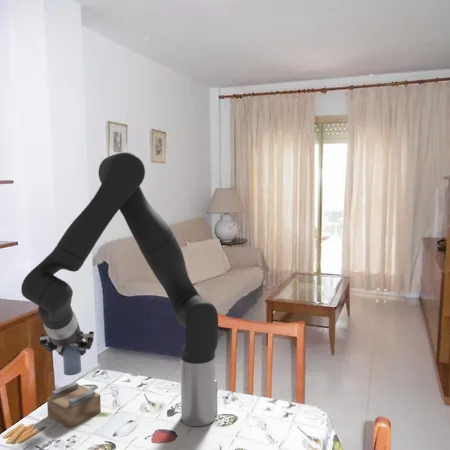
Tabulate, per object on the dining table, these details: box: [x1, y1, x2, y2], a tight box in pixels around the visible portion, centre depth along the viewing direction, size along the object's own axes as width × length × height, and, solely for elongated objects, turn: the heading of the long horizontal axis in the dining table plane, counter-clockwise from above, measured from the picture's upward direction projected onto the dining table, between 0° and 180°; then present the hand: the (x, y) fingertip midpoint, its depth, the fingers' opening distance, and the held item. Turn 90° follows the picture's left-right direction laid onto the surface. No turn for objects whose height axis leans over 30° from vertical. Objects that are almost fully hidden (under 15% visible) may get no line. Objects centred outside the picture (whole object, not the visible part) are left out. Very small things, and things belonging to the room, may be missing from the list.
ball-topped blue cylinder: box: [62, 345, 82, 376], centre depth 118 cm, size 5×5×10 cm
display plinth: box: [46, 381, 102, 429], centre depth 119 cm, size 10×10×6 cm
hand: (73, 352), depth 120 cm, fingers closed on ball-topped blue cylinder, 4 cm apart
